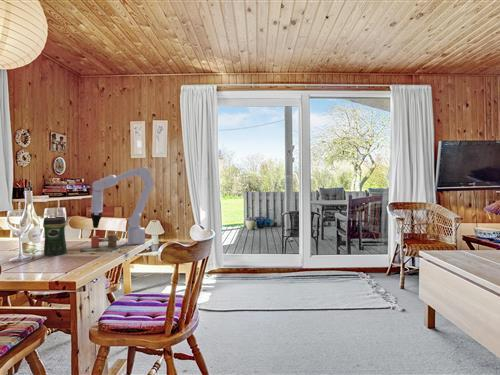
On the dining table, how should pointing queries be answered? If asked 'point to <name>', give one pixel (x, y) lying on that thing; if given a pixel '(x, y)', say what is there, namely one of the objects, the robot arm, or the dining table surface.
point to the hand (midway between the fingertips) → (95, 226)
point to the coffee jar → (54, 236)
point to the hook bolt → (96, 240)
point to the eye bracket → (111, 245)
